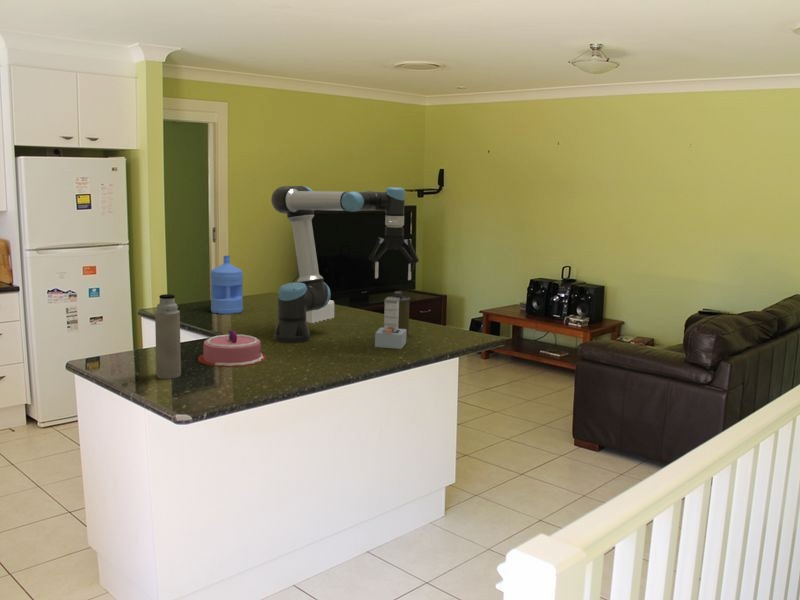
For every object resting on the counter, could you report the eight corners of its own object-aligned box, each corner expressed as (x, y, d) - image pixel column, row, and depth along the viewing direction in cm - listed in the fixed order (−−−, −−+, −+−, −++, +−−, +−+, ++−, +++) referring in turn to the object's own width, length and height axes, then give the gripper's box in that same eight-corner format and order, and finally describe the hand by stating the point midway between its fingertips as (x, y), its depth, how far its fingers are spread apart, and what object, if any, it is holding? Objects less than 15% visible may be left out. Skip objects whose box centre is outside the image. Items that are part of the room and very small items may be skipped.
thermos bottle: (160, 372, 254) (158, 292, 249) (183, 372, 254) (182, 293, 250) (153, 378, 246) (151, 296, 241) (177, 379, 247) (175, 297, 242)
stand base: (371, 349, 296) (372, 328, 295) (378, 342, 309) (379, 322, 307) (403, 351, 294) (404, 331, 293) (408, 344, 307) (409, 324, 305)
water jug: (210, 309, 371) (209, 254, 366) (241, 308, 375) (241, 254, 371) (211, 315, 356) (211, 257, 351) (244, 314, 361) (244, 257, 356)
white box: (311, 324, 343) (312, 290, 340) (282, 319, 352) (282, 286, 350) (334, 318, 358) (334, 286, 355) (305, 314, 367) (305, 282, 364)
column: (382, 346, 298) (384, 299, 295) (386, 342, 305) (387, 297, 302) (395, 347, 297) (396, 300, 294) (398, 343, 304) (399, 297, 301)
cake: (275, 363, 271) (275, 335, 270) (208, 370, 259) (208, 341, 257) (253, 348, 293) (253, 322, 291) (190, 354, 281) (190, 327, 279)
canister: (406, 340, 315) (407, 294, 311) (382, 338, 317) (383, 293, 313) (411, 335, 325) (412, 290, 322) (388, 333, 327) (389, 289, 324)
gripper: (362, 225, 292) (360, 278, 295) (424, 228, 287) (422, 281, 291) (366, 224, 299) (365, 275, 302) (426, 227, 295) (424, 279, 298)
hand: (393, 278), depth 297 cm, fingers open, 13 cm apart
